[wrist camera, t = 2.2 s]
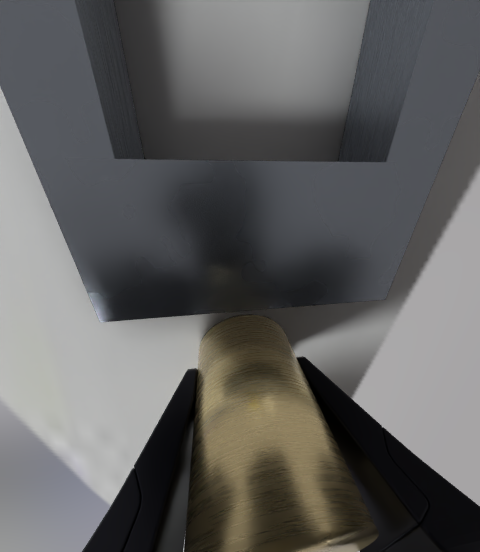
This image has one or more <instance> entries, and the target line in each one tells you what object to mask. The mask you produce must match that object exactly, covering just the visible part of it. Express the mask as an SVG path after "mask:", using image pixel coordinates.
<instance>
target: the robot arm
mask: <svg viewBox="0 0 480 552" xmlns="http://www.w3.org/2000/svg"><path fill="white" fill-rule="evenodd" d="M296 358H297V360H298V362H299V364H300V367H301V369H302V371H303V373H304V375H305V377H306V379H307V381H308V384H309V386H310V388H311V390H312V392H313V394H314V396H315V398H316V400H317V403H318V405H319V407H320V409H321V411H322V413H323V415H324V417H325V420H326V422H327V424H328V426H329V428H330V430H331V432H332V434H333V437H334V439H335V441H336V443H337V445H338V447H339V449H340V451H341V454H342V456H343V458H344V460H345V462H346V464H347V466H348V468H349V471H350V473H351V475H352V477H353V479H354V481H355V483H356V485H357V488H358V490H359V492H360V494H361V496H362V498H363V500H364V502H365V504H366V507H367V509H368V511H369V513H370V515H371V517H372V519H373V521H374V524H375V526H376V528H377V530H378V532H379V536H378V537H377V539H376V540H375V541H374V542H372V543H371V544H370V545H368V546H366V547H365V548H363V549H361V550H360V552H480V506H478V505H477V504H476V503H475V502H473V501H472V500H471V499H470V498H468V497H467V496H466V495H464V494H463V493H462V492H461V491H459V490H458V489H457V488H455V487H454V486H453V485H452V484H451V483H449V482H448V481H447V480H446V479H444V478H443V477H442V476H441V475H439V474H438V473H437V472H436V471H434V470H433V469H432V468H430V467H429V466H428V465H427V464H426V463H424V462H423V461H422V460H421V459H419V458H418V457H417V456H416V455H415V454H413V453H412V452H411V451H410V450H408V449H407V448H406V447H405V446H404V445H403V444H402V443H401V442H399V441H398V440H397V439H396V438H395V437H394V436H392V435H391V434H390V433H389V432H388V431H387V430H386V429H385V428H382V426H381V425H380V424H379V423H378V422H377V421H376V420H375V419H373V418H372V417H371V416H370V415H369V414H368V413H367V412H365V411H364V410H363V409H362V408H361V407H360V406H359V405H358V404H357V403H355V402H354V401H353V400H352V399H351V398H350V397H349V396H348V395H347V394H345V393H344V392H343V391H342V390H341V389H340V388H339V387H338V386H337V385H335V384H334V383H333V382H332V381H331V380H330V379H329V378H328V377H327V376H325V375H324V374H323V373H322V372H321V371H320V370H319V369H318V368H316V367H315V366H314V365H313V364H312V363H311V362H310V361H309V360H308V359H306V358H305V357H296ZM197 374H198V370H197V369H196V368H195V369H188V370H187V372H186V373H185V375H184V377H183V379H182V380H181V382H180V384H179V386H178V388H177V389H176V391H175V393H174V395H173V397H172V398H171V400H170V402H169V404H168V406H167V407H166V409H165V411H164V413H163V415H162V416H161V418H160V420H159V422H158V424H157V425H156V427H155V429H154V431H153V433H152V434H151V436H150V438H149V440H148V442H147V443H146V445H145V447H144V449H143V451H142V452H141V454H140V456H139V458H138V460H137V461H136V463H135V465H134V468H135V469H134V468H133V469H132V470H131V472H130V474H129V476H128V477H127V479H126V481H125V483H124V485H123V486H122V488H121V490H120V491H119V493H118V495H117V497H116V498H115V500H114V502H113V503H112V505H111V507H110V509H109V510H108V512H107V514H106V515H105V517H104V518H103V520H102V521H101V523H100V525H99V526H98V528H97V529H96V531H95V533H94V534H93V536H92V537H91V539H90V540H89V542H88V543H87V545H86V547H85V548H84V549H83V551H82V552H183V547H184V539H185V531H186V520H187V507H188V493H189V480H190V467H191V453H192V440H193V427H194V413H195V400H196V387H197Z"/></svg>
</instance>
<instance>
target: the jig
mask: <svg viewBox="0 0 480 552" xmlns="http://www.w3.org/2000/svg"><path fill="white" fill-rule="evenodd" d="M479 71H480V0H371V1H370V6H369V11H368V16H367V21H366V26H365V31H364V36H363V41H362V46H361V51H360V56H359V61H358V66H357V70H356V75H355V80H354V85H353V90H352V95H351V100H350V105H349V110H348V115H347V120H346V125H345V130H344V135H343V140H342V145H341V150H340V155H339V160H338V162H314V161H234V160H153V159H144V155H143V150H142V144H141V139H140V134H139V129H138V124H137V118H136V113H135V108H134V103H133V98H132V93H131V87H130V82H129V77H128V72H127V67H126V61H125V56H124V51H123V46H122V41H121V35H120V30H119V25H118V20H117V15H116V10H115V4H114V0H0V86H1V89H2V91H3V93H4V96H5V98H6V101H7V103H8V105H9V108H10V110H11V112H12V115H13V117H14V120H15V122H16V124H17V127H18V129H19V131H20V134H21V136H22V139H23V141H24V143H25V146H26V148H27V150H28V153H29V155H30V158H31V160H32V162H33V165H34V167H35V169H36V172H37V174H38V176H39V179H40V181H41V184H42V186H43V188H44V191H45V193H46V195H47V198H48V200H49V203H50V205H51V207H52V210H53V212H54V214H55V217H56V219H57V222H58V224H59V226H60V229H61V231H62V233H63V236H64V238H65V240H66V243H67V245H68V248H69V250H70V252H71V255H72V257H73V259H74V262H75V264H76V267H77V269H78V271H79V274H80V276H81V278H82V281H83V283H84V286H85V288H86V290H87V293H88V295H89V297H90V300H91V302H92V304H93V307H94V309H95V312H96V314H97V316H98V319H99V321H100V322H109V321H121V320H134V319H147V318H159V317H172V316H185V315H197V314H210V313H222V312H235V311H248V310H260V309H273V308H285V307H298V306H311V305H323V304H336V303H349V302H361V301H374V300H385V299H386V296H387V294H388V292H389V289H390V287H391V284H392V282H393V279H394V277H395V275H396V272H397V270H398V267H399V265H400V262H401V260H402V258H403V255H404V253H405V250H406V248H407V245H408V243H409V241H410V238H411V236H412V233H413V231H414V228H415V226H416V224H417V221H418V219H419V216H420V214H421V211H422V209H423V207H424V204H425V202H426V199H427V197H428V194H429V192H430V190H431V187H432V185H433V182H434V180H435V177H436V175H437V173H438V170H439V168H440V165H441V163H442V160H443V158H444V156H445V153H446V151H447V148H448V146H449V143H450V141H451V139H452V136H453V134H454V131H455V129H456V127H457V124H458V122H459V119H460V117H461V114H462V112H463V110H464V107H465V105H466V102H467V100H468V97H469V95H470V93H471V90H472V88H473V85H474V83H475V80H476V78H477V76H478V73H479Z"/></svg>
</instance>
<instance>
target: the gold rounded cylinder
mask: <svg viewBox="0 0 480 552" xmlns="http://www.w3.org/2000/svg"><path fill="white" fill-rule="evenodd" d="M378 536H379V532H378V530H377V528H376V526H375V524H374V521H373V519H372V517H371V515H370V513H369V511H368V509H367V507H366V504H365V502H364V500H363V498H362V496H361V494H360V492H359V490H358V488H357V485H356V483H355V481H354V479H353V477H352V475H351V473H350V471H349V468H348V466H347V464H346V462H345V460H344V458H343V456H342V454H341V451H340V449H339V447H338V445H337V443H336V441H335V439H334V437H333V434H332V432H331V430H330V428H329V426H328V424H327V422H326V420H325V417H324V415H323V413H322V411H321V409H320V407H319V405H318V403H317V400H316V398H315V396H314V394H313V392H312V390H311V388H310V386H309V384H308V381H307V379H306V377H305V375H304V373H303V371H302V369H301V367H300V364H299V362H298V360H297V358H296V356H295V354H294V352H293V350H292V347H291V345H290V343H289V341H288V339H287V337H286V335H285V333H284V331H283V329H282V328H281V327H280V326H279V325H278V324H277V323H276V322H274V321H273V320H271V319H269V318H266V317H263V316H258V315H241V316H236V317H232V318H229V319H226V320H224V321H222V322H220V323H218V324H217V325H215V326H214V327H213V328H211V329H210V330H209V331H208V332H207V333H206V335H205V336H204V338H203V339H202V341H201V344H200V349H199V360H198V374H197V387H196V400H195V413H194V427H193V440H192V453H191V467H190V480H189V493H188V507H187V520H186V533H185V546H184V552H357V551H359V550H361V549H363V548H365V547H366V546H368V545H370V544H371V543H372V542H374V541H375V540H376V539H377V537H378Z"/></svg>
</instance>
